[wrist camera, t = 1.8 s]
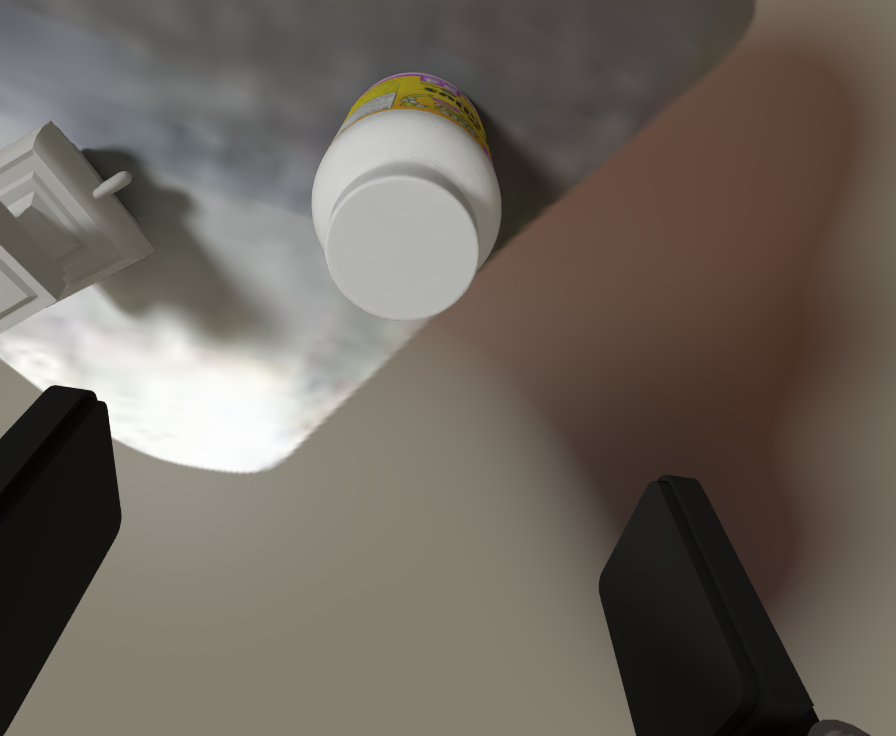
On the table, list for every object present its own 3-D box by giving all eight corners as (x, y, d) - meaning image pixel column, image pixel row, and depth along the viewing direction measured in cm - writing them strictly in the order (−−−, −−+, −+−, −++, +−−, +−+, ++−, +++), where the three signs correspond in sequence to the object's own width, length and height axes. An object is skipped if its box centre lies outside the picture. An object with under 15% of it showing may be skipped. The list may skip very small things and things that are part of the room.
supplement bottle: (510, 168, 29) (552, 289, 19) (397, 237, 31) (377, 381, 21) (436, 36, 26) (437, 90, 15) (315, 121, 28) (242, 221, 17)
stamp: (97, 94, 27) (-19, 142, 20) (193, 221, 31) (122, 299, 24) (-45, 182, 29) (-193, 253, 22) (60, 292, 33) (-41, 383, 26)
